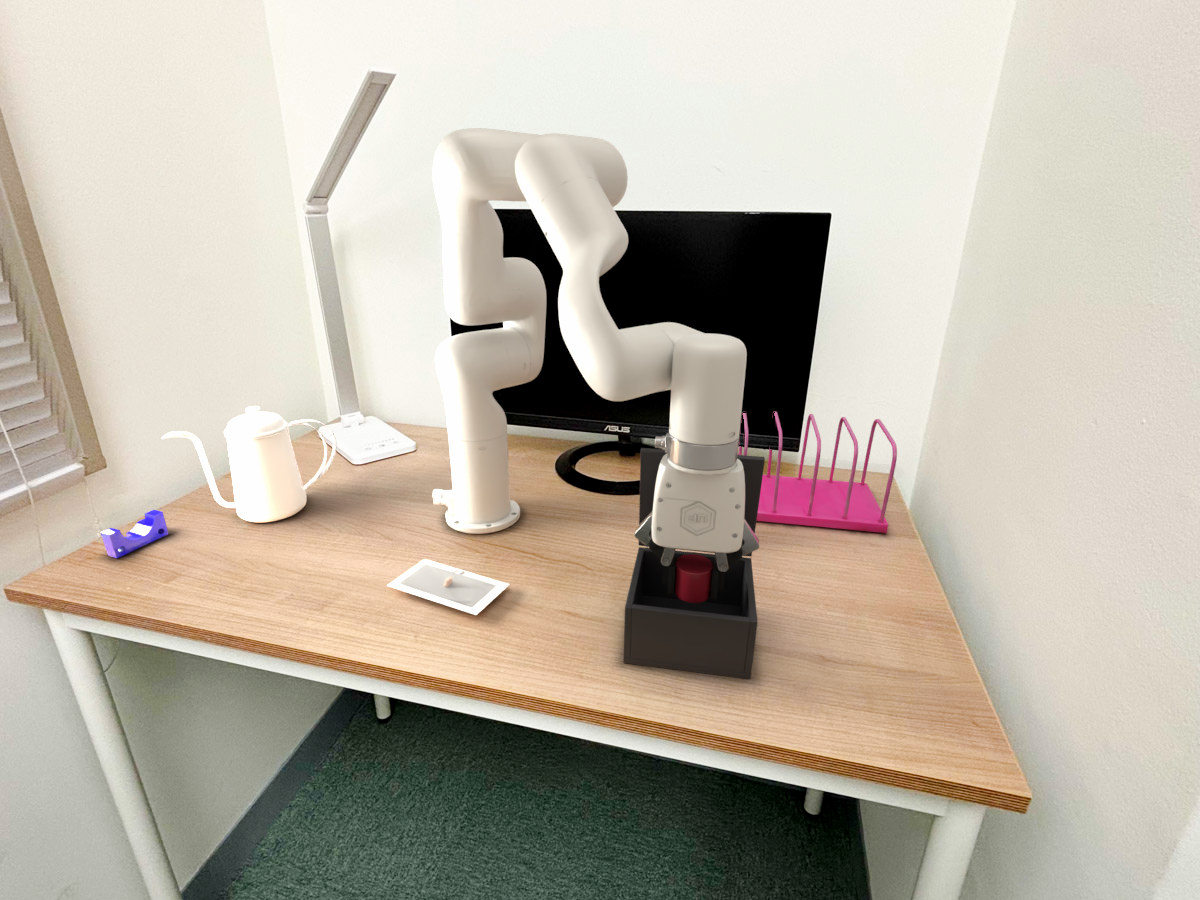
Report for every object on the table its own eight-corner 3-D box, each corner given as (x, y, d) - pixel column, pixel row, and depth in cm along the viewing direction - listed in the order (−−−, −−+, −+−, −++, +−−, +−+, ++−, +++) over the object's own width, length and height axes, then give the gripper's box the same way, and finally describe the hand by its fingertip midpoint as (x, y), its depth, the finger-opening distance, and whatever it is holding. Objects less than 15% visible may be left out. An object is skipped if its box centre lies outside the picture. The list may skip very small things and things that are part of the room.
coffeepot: (180, 521, 103) (151, 414, 96) (332, 481, 119) (317, 387, 112) (193, 546, 96) (163, 433, 89) (353, 501, 111) (338, 401, 104)
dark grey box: (750, 679, 70) (757, 622, 67) (623, 663, 72) (624, 607, 69) (745, 608, 82) (751, 557, 80) (636, 596, 85) (638, 546, 82)
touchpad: (476, 622, 79) (475, 608, 78) (387, 592, 85) (385, 578, 84) (510, 590, 86) (509, 577, 85) (425, 565, 92) (423, 552, 91)
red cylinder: (672, 601, 72) (674, 571, 71) (674, 580, 76) (676, 552, 75) (710, 605, 72) (713, 575, 70) (710, 584, 76) (713, 555, 74)
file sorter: (887, 535, 102) (905, 446, 96) (732, 520, 106) (741, 434, 100) (865, 491, 117) (880, 412, 112) (731, 479, 122) (739, 403, 116)
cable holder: (153, 530, 100) (147, 508, 99) (168, 534, 99) (162, 511, 98) (101, 553, 94) (93, 530, 92) (116, 558, 92) (109, 534, 91)
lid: (764, 460, 72) (762, 437, 77) (640, 450, 74) (645, 429, 79) (751, 556, 79) (750, 530, 84) (638, 545, 81) (643, 520, 86)
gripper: (621, 456, 65) (617, 602, 72) (786, 468, 62) (766, 618, 69) (630, 433, 72) (626, 568, 79) (779, 443, 69) (762, 581, 76)
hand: (692, 590), depth 74 cm, fingers closed on red cylinder, 4 cm apart
